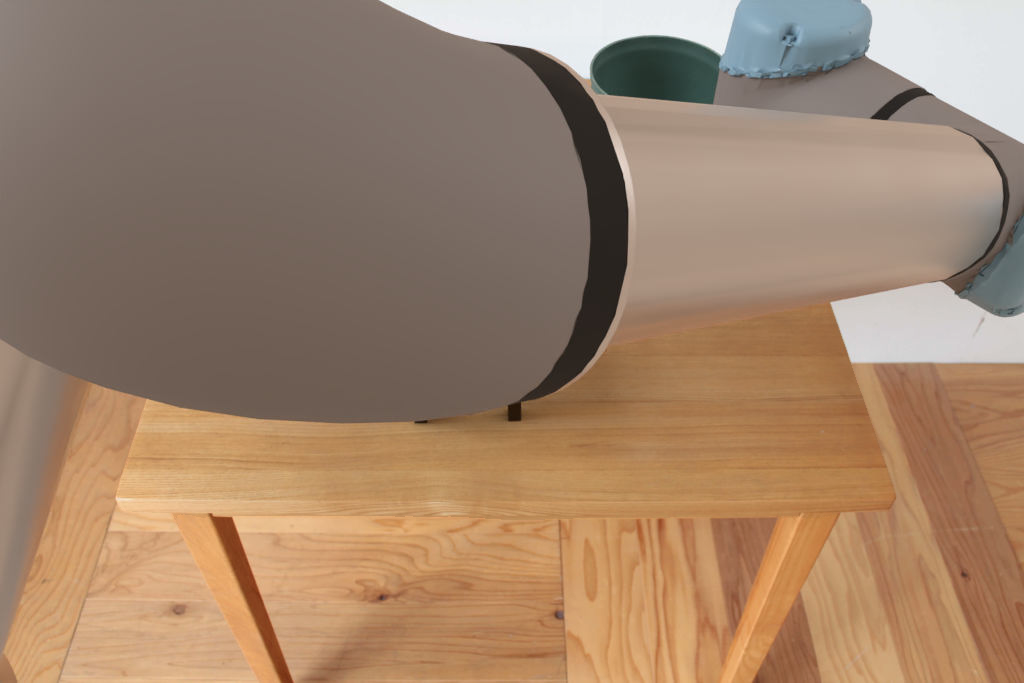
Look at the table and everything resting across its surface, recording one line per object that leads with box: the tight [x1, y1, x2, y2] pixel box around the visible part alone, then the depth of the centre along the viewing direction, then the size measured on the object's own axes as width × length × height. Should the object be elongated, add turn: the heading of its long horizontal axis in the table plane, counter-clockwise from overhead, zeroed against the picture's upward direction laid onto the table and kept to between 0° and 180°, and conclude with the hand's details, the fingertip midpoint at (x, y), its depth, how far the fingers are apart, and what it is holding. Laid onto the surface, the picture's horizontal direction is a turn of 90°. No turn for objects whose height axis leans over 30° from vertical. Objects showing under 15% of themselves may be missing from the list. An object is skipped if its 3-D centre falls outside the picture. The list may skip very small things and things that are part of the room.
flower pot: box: [589, 34, 722, 105], centre depth 99 cm, size 16×16×11 cm
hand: (354, 91), depth 69 cm, fingers closed on blue cup, 7 cm apart
